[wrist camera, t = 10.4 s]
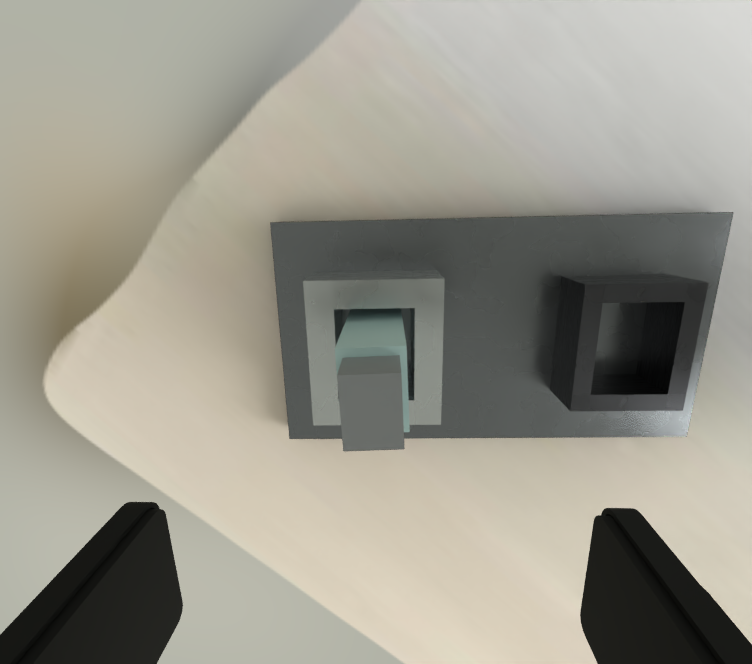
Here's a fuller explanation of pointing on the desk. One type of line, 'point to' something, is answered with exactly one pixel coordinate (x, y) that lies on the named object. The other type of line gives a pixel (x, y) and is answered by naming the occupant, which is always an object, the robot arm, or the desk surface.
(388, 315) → the plug
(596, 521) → the robot arm
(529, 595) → the desk surface
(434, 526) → the desk surface
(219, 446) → the desk surface
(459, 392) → the panel
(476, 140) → the desk surface
